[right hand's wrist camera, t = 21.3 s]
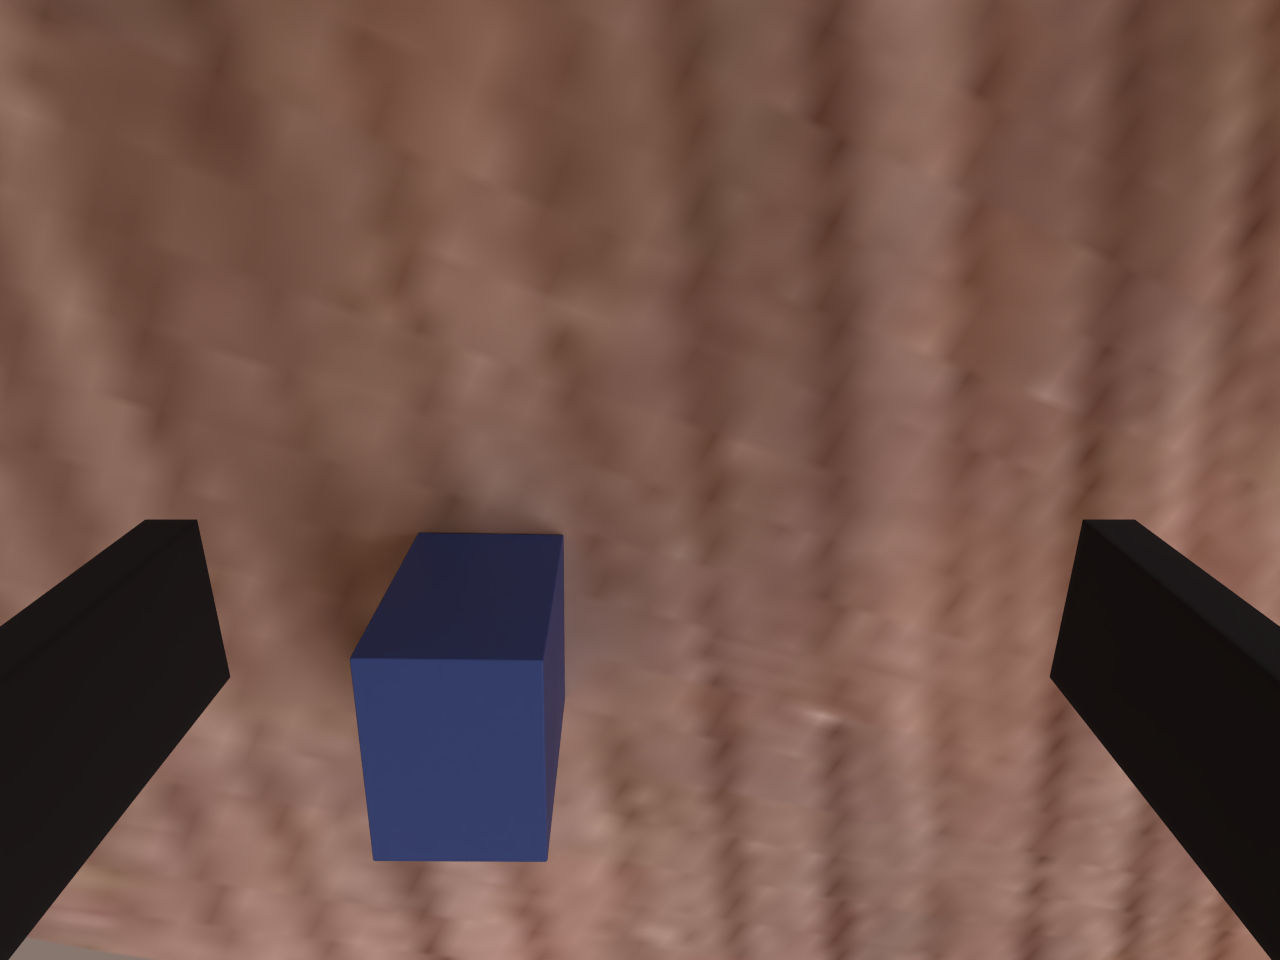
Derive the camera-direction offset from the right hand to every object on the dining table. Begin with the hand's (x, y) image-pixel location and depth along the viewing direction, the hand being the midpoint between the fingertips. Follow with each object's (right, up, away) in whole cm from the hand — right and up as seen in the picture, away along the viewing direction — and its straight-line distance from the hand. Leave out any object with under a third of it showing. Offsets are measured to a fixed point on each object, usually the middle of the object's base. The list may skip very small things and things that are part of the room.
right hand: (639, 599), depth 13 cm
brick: (-7, -5, +27) cm, 29 cm away
